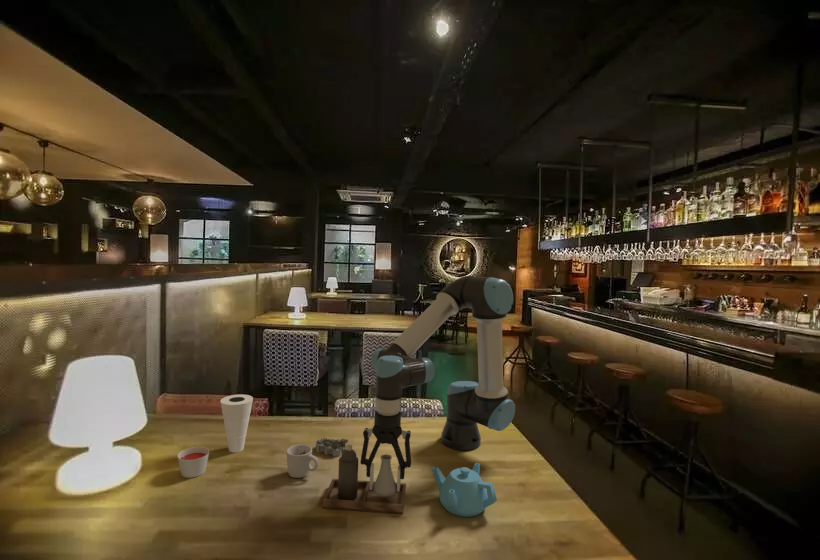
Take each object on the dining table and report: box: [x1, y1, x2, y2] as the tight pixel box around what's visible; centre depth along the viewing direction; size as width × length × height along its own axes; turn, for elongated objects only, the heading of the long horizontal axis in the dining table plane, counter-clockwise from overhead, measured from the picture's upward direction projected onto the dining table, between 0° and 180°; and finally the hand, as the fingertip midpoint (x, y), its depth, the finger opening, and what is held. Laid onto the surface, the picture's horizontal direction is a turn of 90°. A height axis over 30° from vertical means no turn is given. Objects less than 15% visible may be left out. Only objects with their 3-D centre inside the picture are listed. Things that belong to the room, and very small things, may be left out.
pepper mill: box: [337, 444, 359, 501], centre depth 127 cm, size 6×6×15 cm
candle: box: [177, 446, 210, 479], centre depth 138 cm, size 9×9×6 cm
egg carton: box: [314, 437, 349, 457], centre depth 157 cm, size 11×8×4 cm
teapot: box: [431, 462, 498, 518], centre depth 126 cm, size 15×15×11 cm
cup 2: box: [220, 394, 254, 453], centre depth 154 cm, size 11×11×18 cm
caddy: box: [322, 478, 407, 515], centre depth 127 cm, size 22×12×2 cm, turn 87°
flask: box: [372, 453, 397, 496], centre depth 127 cm, size 7×7×10 cm
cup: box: [285, 444, 319, 479], centre depth 139 cm, size 11×8×8 cm
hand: (384, 488), depth 127 cm, fingers closed on flask, 7 cm apart
